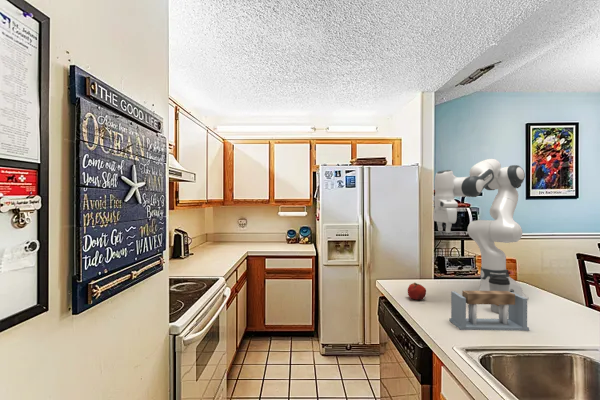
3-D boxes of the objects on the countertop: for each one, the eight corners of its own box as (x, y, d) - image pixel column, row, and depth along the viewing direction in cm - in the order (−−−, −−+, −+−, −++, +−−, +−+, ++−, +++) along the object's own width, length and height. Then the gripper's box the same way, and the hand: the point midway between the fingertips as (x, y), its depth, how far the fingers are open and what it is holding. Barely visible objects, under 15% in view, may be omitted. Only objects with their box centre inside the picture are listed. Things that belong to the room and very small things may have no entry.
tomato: (418, 296, 180) (418, 280, 180) (430, 301, 172) (430, 284, 172) (403, 297, 178) (403, 281, 178) (414, 302, 169) (414, 286, 169)
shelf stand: (513, 321, 143) (513, 292, 143) (529, 330, 133) (529, 298, 133) (449, 320, 144) (449, 291, 144) (459, 329, 134) (459, 298, 134)
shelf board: (467, 304, 136) (467, 293, 136) (462, 300, 141) (462, 290, 141) (515, 304, 135) (515, 294, 135) (507, 300, 140) (507, 291, 140)
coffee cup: (490, 313, 153) (490, 278, 153) (487, 307, 161) (487, 275, 161) (511, 315, 150) (512, 280, 150) (507, 309, 158) (507, 276, 158)
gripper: (430, 203, 181) (430, 229, 181) (445, 203, 160) (445, 233, 160) (442, 203, 181) (442, 229, 181) (459, 203, 160) (459, 233, 160)
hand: (444, 231), depth 170 cm, fingers open, 8 cm apart
